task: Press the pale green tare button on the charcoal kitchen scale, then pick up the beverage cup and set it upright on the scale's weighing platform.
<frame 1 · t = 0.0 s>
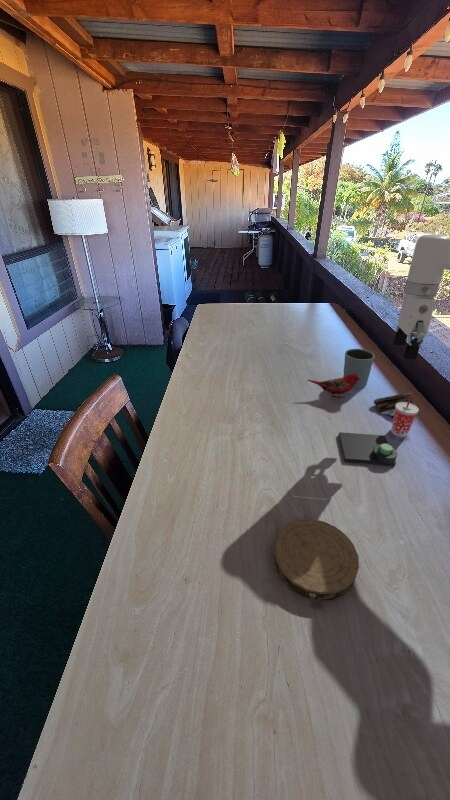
hand: (403, 351, 97), 24 cm above the table, tool pointing down, fingers open, 9 cm apart
tare button: (385, 449, 93), point 4 cm above the table, slide at 0.1 cm
wood log slice: (313, 562, 69), on the table
scale: (364, 450, 98), on the table
green cylindrical pot: (353, 383, 133), on the table
chocolate cake: (392, 413, 115), on the table
decorative bird figurine: (330, 397, 124), on the table
beverage cup: (399, 433, 106), on the table
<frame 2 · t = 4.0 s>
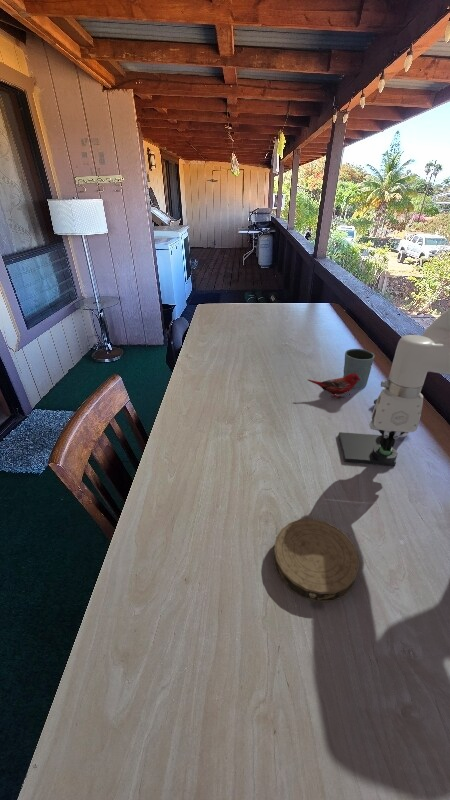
hand: (385, 447, 93), 4 cm above the table, tool pointing down, fingers closed
tare button: (385, 450, 93), point 3 cm above the table, slide at -0.1 cm, touching gripper
everything else where it was.
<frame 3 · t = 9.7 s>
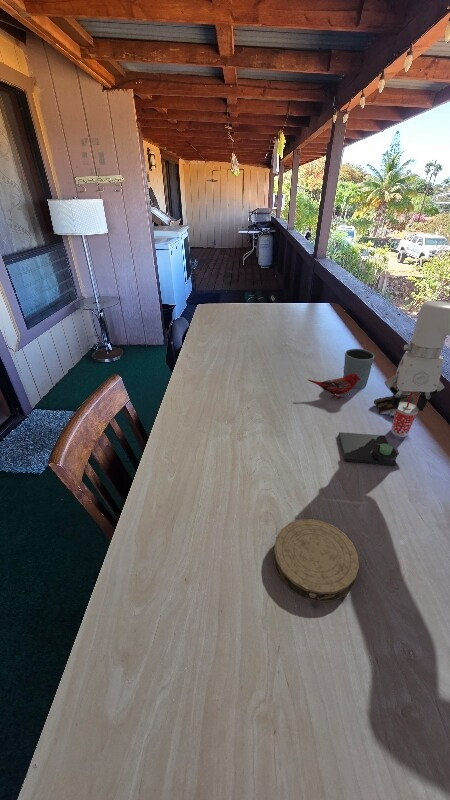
hand: (407, 407, 101), 9 cm above the table, tool pointing down, fingers closed on beverage cup, 6 cm apart
tare button: (385, 449, 93), point 3 cm above the table, slide at 0.1 cm
beverage cup: (399, 433, 106), on the table, touching gripper
everything else where it was.
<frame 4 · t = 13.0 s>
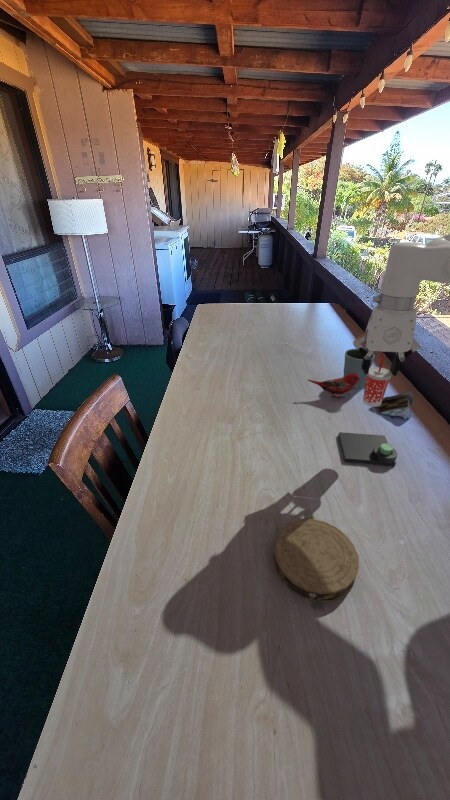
hand: (379, 372, 89), 23 cm above the table, tool pointing down, fingers closed on beverage cup, 6 cm apart
beverage cup: (371, 402, 94), point 14 cm above the table, touching gripper
everything else where it was.
when the fingers open (10 cm above the table, at t = 16.7 s): beverage cup stays where it is, resting on scale.
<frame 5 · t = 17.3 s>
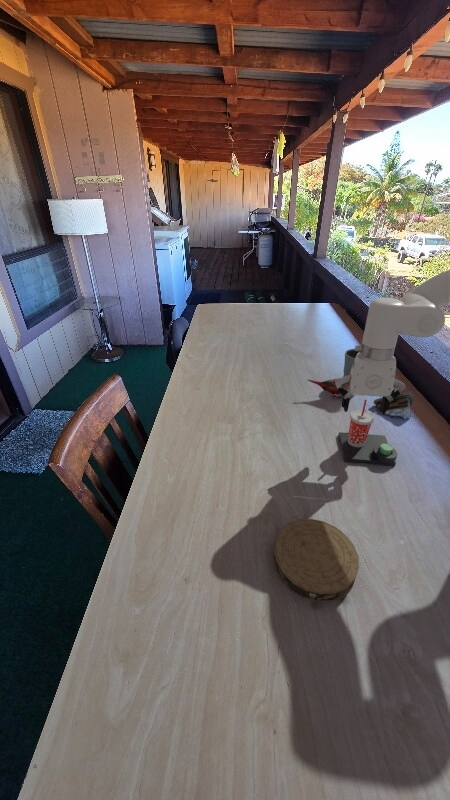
hand: (363, 410, 94), 12 cm above the table, tool pointing down, fingers open, 9 cm apart
beverage cup: (355, 442, 99), point 1 cm above the table, touching scale
everything else where it was.
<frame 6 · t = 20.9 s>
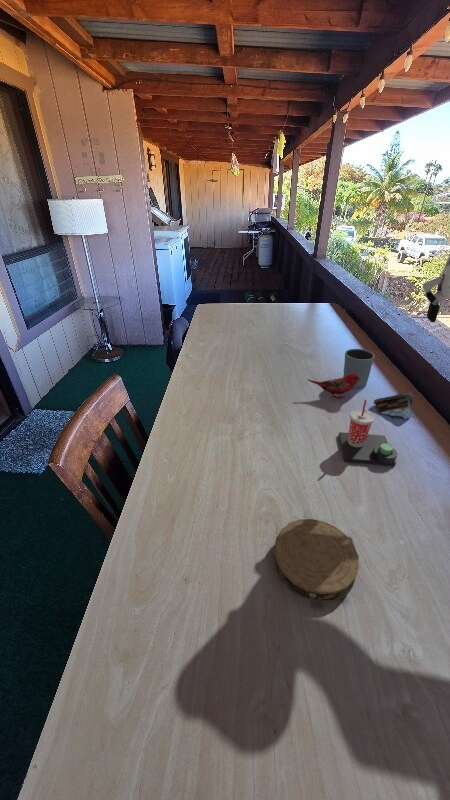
nothing on the table moved.
at the end: tare button pushed in 0.9 cm at the most during the clip, back to where it started at the end; beverage cup touching scale; beverage cup inside the target area (0.1 cm from its centre), point 1.2 cm above the table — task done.
